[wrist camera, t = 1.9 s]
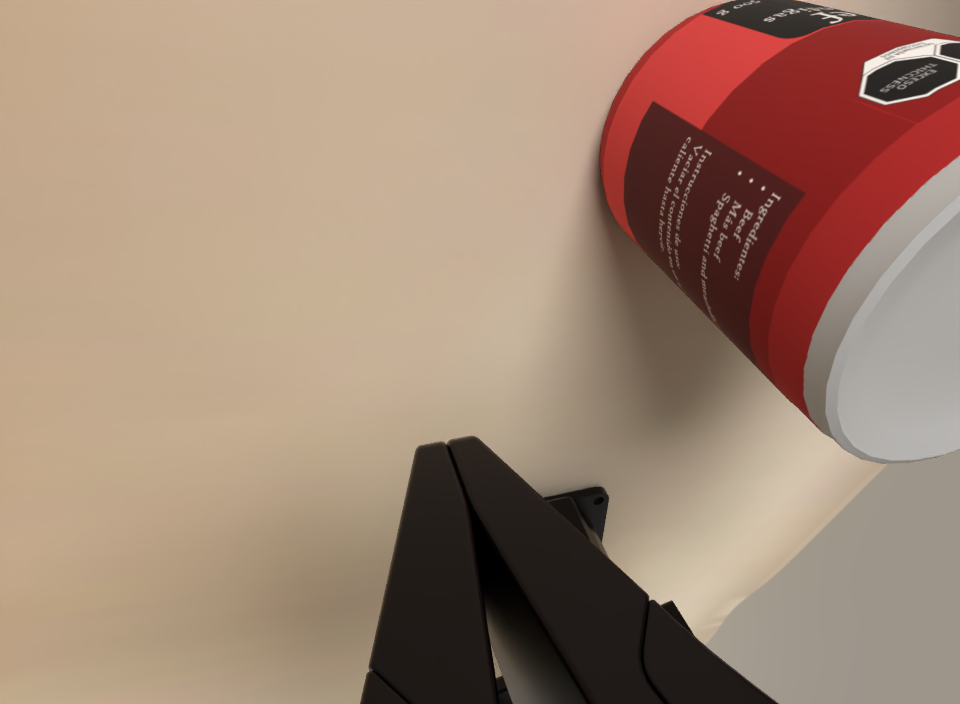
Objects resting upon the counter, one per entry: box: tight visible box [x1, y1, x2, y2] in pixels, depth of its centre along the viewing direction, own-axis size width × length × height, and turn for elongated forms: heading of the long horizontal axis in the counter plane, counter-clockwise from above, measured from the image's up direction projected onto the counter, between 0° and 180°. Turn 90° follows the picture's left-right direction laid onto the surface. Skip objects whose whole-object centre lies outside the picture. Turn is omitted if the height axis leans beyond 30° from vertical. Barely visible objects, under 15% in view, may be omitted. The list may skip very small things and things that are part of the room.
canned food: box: [600, 0, 960, 464], centre depth 16 cm, size 8×8×11 cm
